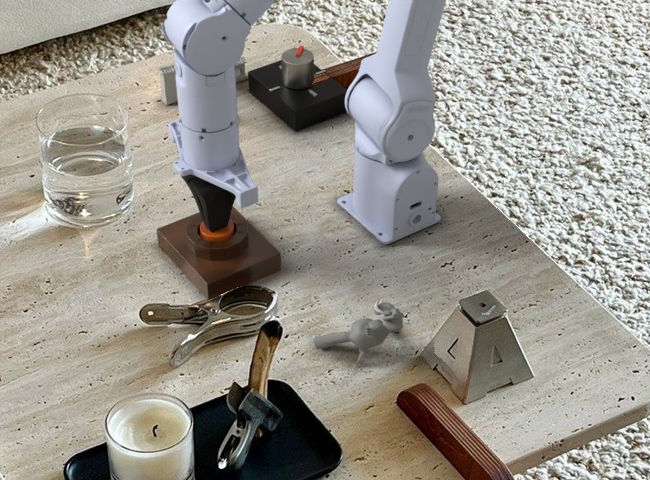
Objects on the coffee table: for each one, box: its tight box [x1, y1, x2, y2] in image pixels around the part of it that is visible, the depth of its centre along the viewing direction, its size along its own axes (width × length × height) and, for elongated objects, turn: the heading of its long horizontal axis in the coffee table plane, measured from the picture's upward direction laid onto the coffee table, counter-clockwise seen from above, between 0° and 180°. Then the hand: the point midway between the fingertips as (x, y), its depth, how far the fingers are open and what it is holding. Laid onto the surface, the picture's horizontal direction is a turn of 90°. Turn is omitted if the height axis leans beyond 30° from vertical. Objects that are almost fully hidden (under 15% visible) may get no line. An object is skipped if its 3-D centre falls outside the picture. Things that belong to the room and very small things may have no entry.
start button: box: [200, 219, 234, 242], centre depth 126 cm, size 4×4×2 cm
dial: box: [280, 45, 315, 89], centre depth 147 cm, size 4×4×4 cm
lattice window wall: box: [156, 55, 248, 106], centre depth 150 cm, size 12×2×6 cm, turn 122°
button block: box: [156, 206, 282, 301], centre depth 127 cm, size 11×9×4 cm
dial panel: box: [247, 59, 348, 133], centre depth 149 cm, size 11×8×3 cm
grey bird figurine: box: [312, 298, 405, 366], centre depth 116 cm, size 10×6×9 cm
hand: (216, 226), depth 126 cm, fingers closed, pressing on start button
